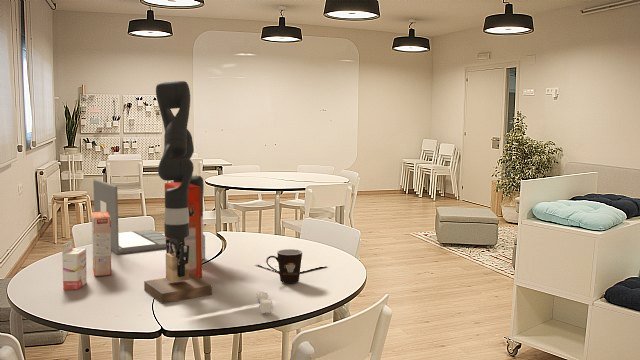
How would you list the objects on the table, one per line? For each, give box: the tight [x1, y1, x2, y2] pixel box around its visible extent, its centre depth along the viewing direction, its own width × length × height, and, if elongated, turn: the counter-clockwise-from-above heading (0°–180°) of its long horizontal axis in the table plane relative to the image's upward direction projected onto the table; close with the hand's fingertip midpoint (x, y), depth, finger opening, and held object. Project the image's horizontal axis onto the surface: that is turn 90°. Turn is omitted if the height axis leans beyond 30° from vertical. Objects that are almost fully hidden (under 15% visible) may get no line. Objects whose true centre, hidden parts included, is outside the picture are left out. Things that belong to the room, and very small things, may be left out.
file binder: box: [164, 182, 203, 279], centre depth 196 cm, size 8×17×32 cm, turn 30°
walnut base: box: [143, 274, 213, 304], centre depth 176 cm, size 16×16×3 cm
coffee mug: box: [265, 248, 303, 284], centre depth 191 cm, size 12×9×10 cm
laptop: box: [92, 178, 166, 255], centre depth 245 cm, size 35×26×28 cm
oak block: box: [165, 252, 189, 282], centre depth 175 cm, size 6×6×8 cm
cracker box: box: [91, 211, 112, 277], centre depth 199 cm, size 14×6×21 cm, turn 24°
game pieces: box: [256, 291, 273, 314], centre depth 164 cm, size 12×3×3 cm, turn 13°
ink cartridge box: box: [61, 239, 88, 291], centre depth 181 cm, size 9×5×15 cm, turn 5°
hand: (177, 274), depth 175 cm, fingers closed on oak block, 5 cm apart
